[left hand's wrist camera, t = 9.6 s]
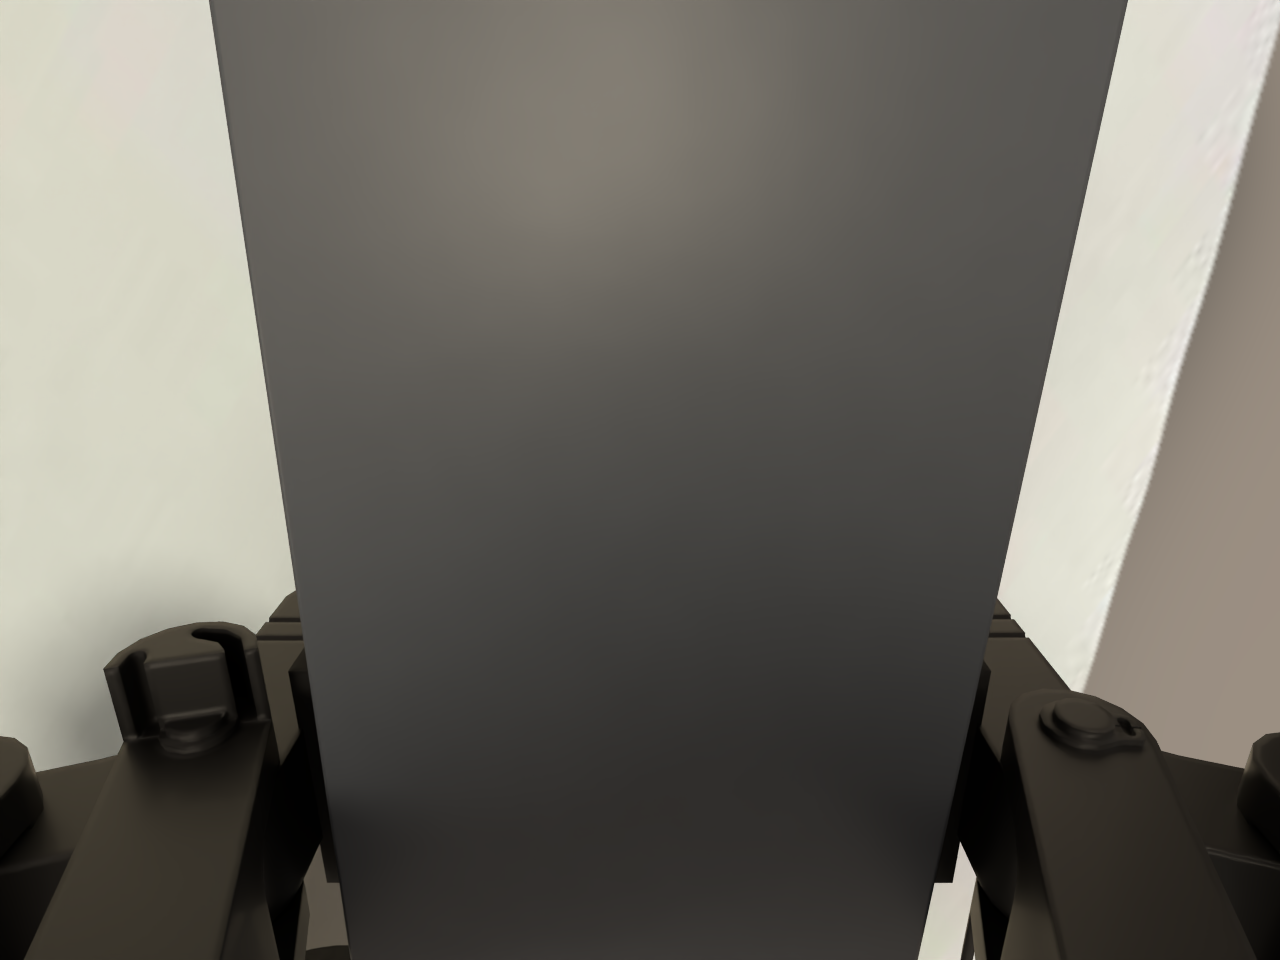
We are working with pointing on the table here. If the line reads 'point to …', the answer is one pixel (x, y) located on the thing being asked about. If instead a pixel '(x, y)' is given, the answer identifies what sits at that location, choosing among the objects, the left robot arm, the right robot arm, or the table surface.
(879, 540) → the post
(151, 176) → the table surface
